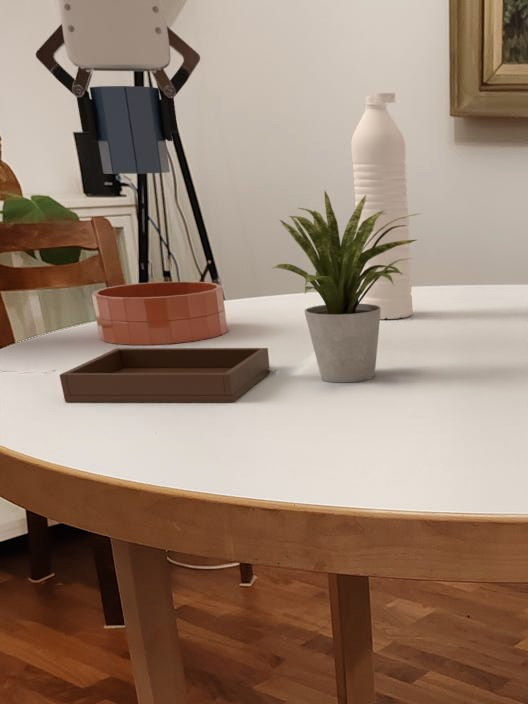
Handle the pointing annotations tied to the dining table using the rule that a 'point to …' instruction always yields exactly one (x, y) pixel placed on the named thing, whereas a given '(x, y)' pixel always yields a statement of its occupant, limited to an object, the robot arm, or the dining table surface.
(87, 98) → the robot arm
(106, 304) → the bowl
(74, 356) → the dining table surface
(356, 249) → the house plant
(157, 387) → the tray
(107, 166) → the cup
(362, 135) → the water bottle
